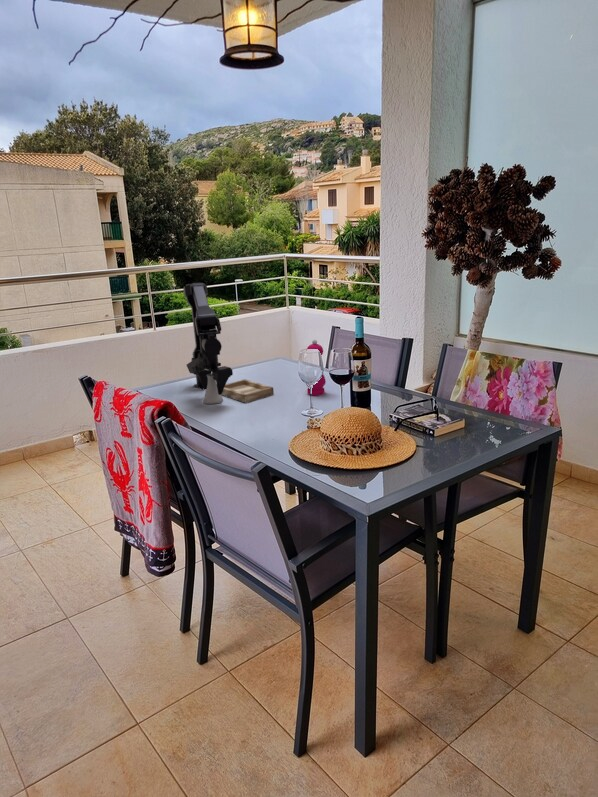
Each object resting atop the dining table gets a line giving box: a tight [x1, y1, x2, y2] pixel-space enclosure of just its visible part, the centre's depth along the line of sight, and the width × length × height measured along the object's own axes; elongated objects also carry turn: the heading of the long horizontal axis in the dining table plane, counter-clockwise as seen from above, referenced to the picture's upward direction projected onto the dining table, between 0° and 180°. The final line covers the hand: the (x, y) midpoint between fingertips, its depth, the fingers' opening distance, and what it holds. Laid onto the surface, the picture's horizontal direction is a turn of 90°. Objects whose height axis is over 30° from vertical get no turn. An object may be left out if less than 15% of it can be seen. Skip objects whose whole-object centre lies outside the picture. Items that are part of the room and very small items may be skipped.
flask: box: [202, 373, 224, 405], centre depth 198 cm, size 7×7×10 cm
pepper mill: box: [305, 339, 326, 397], centre depth 202 cm, size 7×7×20 cm
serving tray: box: [221, 378, 275, 404], centre depth 206 cm, size 17×13×3 cm
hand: (212, 392), depth 199 cm, fingers open, 9 cm apart
